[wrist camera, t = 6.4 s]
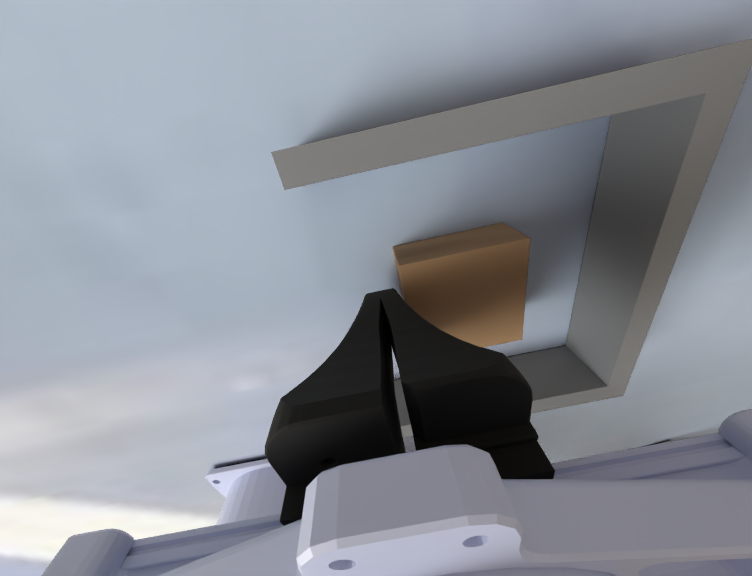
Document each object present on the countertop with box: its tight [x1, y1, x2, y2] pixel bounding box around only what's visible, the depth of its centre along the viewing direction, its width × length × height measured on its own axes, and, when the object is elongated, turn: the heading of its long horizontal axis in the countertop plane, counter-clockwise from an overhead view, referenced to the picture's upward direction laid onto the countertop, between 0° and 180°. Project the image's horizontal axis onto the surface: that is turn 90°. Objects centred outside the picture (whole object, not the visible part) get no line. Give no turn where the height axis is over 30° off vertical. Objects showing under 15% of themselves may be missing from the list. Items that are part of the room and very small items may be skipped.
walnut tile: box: [393, 223, 530, 347], centre depth 12 cm, size 5×5×2 cm
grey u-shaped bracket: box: [271, 39, 752, 438], centre depth 12 cm, size 14×13×3 cm
